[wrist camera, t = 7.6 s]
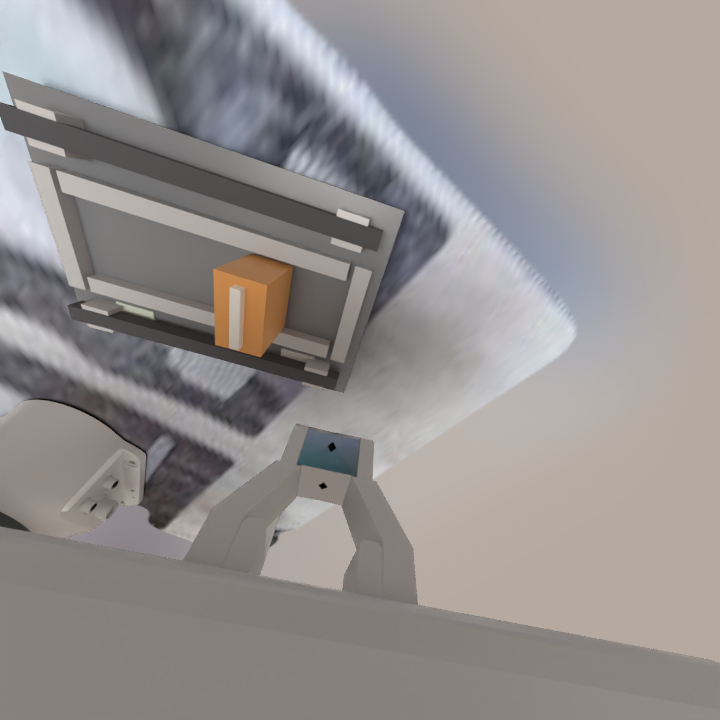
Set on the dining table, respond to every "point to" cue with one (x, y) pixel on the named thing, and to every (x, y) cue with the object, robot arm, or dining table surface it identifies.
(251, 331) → the block
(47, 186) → the panel
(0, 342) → the dining table surface
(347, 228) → the pair of dark pieces
